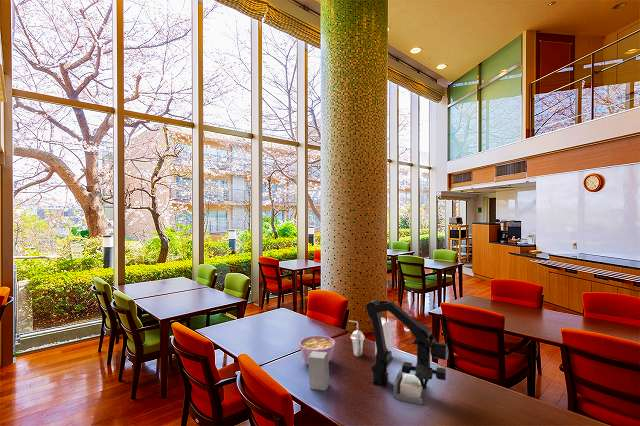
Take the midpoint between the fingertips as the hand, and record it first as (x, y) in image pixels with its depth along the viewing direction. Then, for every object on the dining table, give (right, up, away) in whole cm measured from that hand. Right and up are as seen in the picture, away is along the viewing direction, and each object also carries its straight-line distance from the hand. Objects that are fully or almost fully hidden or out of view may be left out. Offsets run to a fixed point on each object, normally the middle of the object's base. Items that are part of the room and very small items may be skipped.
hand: (424, 389), depth 146 cm
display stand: (-5, -3, +2) cm, 6 cm away
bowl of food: (-48, -4, +33) cm, 59 cm away
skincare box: (-48, -4, +8) cm, 48 cm away
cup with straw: (-25, -3, +43) cm, 50 cm away
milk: (-11, -3, +41) cm, 43 cm away
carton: (-5, -3, +4) cm, 7 cm away
